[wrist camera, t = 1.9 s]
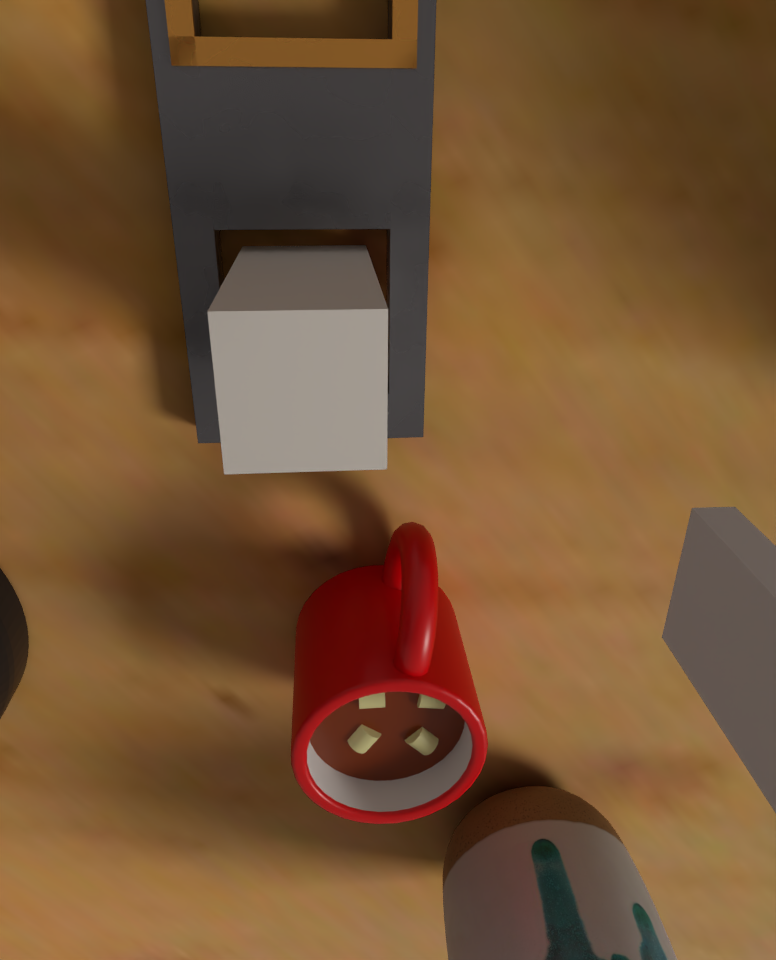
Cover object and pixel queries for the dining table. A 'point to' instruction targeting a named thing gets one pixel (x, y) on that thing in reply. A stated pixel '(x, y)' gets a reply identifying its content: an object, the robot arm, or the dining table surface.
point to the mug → (385, 691)
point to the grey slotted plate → (299, 166)
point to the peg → (301, 361)
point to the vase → (545, 884)
